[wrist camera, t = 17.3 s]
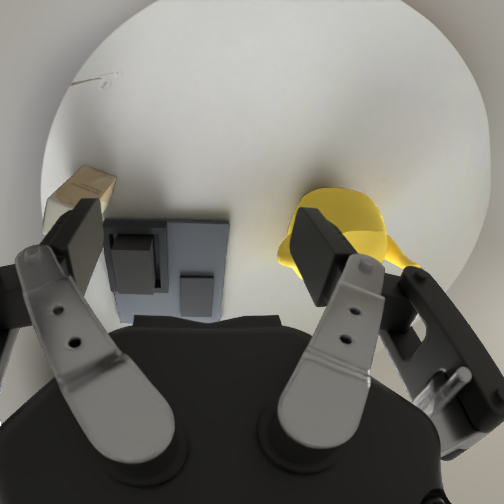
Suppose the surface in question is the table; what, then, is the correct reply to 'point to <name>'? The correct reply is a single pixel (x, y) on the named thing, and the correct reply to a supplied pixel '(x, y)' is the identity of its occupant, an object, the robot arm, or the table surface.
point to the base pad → (175, 268)
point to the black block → (134, 263)
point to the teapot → (349, 225)
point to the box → (78, 194)
